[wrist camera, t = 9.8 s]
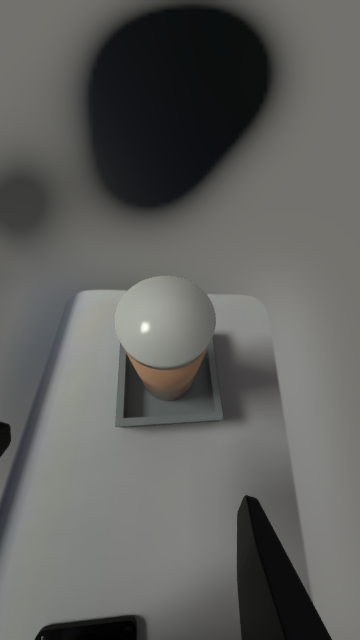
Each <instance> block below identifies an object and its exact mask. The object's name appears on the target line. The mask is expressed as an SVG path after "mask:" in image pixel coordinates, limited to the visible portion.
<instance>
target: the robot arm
mask: <svg viewBox="0 0 360 640" xmlns="http://www.w3.org/2000/svg"><path fill="white" fill-rule="evenodd" d="M10 442H11V429H10V425H9V424H7V423H4V422H0V457H1V456H2V454H3V453H4V452H5V450H6V449H7V448H8V446H9V444H10ZM237 584H238V598H239V611H240V624H241V637H242V640H332V639H331V637H330V635H329V633H328V632H327V629H326V628H325V626H324V624H323V622H322V620H321V618H320V616H319V614H318V612H317V610H316V609H315V607H314V605H313V603H312V601H311V599H310V597H309V595H308V593H307V592H306V590H305V588H304V586H303V584H302V582H301V580H300V578H299V576H298V575H297V573H296V571H295V569H294V567H293V565H292V563H291V561H290V559H289V558H288V556H287V554H286V552H285V550H284V548H283V546H282V544H281V542H280V540H279V539H278V537H277V535H276V533H275V531H274V529H273V527H272V525H271V523H270V522H269V520H268V518H267V516H266V514H265V512H264V510H263V508H262V506H261V505H260V503H259V501H258V500H257V499H256V498H254V497H251V496H248V495H246V496H244V498H243V500H242V503H241V505H240V507H239V510H238V515H237ZM127 626H131V627H132V632H130V633H128V632H127V631H126V627H127ZM42 636H45V637H46V640H137V622H136V620H135V618H134V617H132V616H126V617H118V618H109V619H101V620H92V621H83V622H75V623H66V624H57V625H49V626H45V627H43V628H42V629H41V630H40V632H39V633H38V635H37V636H36V638H35V640H41V637H42Z"/></svg>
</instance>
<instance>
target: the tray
mask: <svg viewBox="0 0 360 640" xmlns="http://www.w3.org/2000/svg"><path fill="white" fill-rule="evenodd" d="M220 420H223V412H222V405H221V398H220V390H219V383H218V375H217V368H216V361H215V353H214V346H213V338H212V339H211V341H210V343H209V346H208V348H207V350H206V353H205V355H204V357H203V360H202V362H201V364H200V367H199V369H198V371H197V374H196V376H195V378H194V381H193V383H192V385H191V387H190V389H189V391H188V392H187V393H186V394H185V395H184V396H182V397H181V398H179V399H177V400H173V401H162V400H159V399H156V398H155V397H153V396H152V395H151V394H150V393H149V392H148V391H147V389H146V388H145V386H144V384H143V382H142V380H141V379H140V377H139V375H138V373H137V371H136V370H135V368H134V366H133V364H132V362H131V361H130V359H129V357H128V355H127V353H126V351H125V350H124V348H123V346H122V344H121V342H120V355H119V372H118V389H117V406H116V422H115V427H135V426H150V425H165V424H180V423H196V422H211V421H220Z"/></svg>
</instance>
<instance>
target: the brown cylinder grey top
mask: <svg viewBox="0 0 360 640" xmlns="http://www.w3.org/2000/svg"><path fill="white" fill-rule="evenodd" d="M215 324H216V317H215V311H214V307H213V305H212V302H211V301H210V299H209V297H208V296H207V295H206V293H205V292H204V291H203V290H202V289H201V288H199V287H198V286H197V285H195V284H194V283H192V282H190V281H188V280H186V279H183V278H179V277H174V276H157V277H152V278H149V279H146V280H143V281H141V282H139V283H137V284H136V285H134V286H133V287H132V288H130V289H129V290H128V291H127V292H126V293H125V295H124V296H123V297H122V299H121V300H120V302H119V304H118V306H117V309H116V313H115V330H116V333H117V336H118V338H119V340H120V342H121V344H122V346H123V348H124V350H125V351H126V353H127V355H128V357H129V359H130V361H131V362H132V364H133V366H134V368H135V370H136V371H137V373H138V375H139V377H140V379H141V380H142V382H143V384H144V386H145V388H146V389H147V391H148V392H149V393H150V394H151V395H152V396H153V397H155V398H156V399H159V400H162V401H173V400H177V399H179V398H181V397H182V396H184V395H185V394H186V393H187V392H188V391H189V389H190V387H191V385H192V383H193V381H194V378H195V376H196V374H197V371H198V369H199V367H200V364H201V362H202V360H203V357H204V355H205V353H206V350H207V348H208V346H209V343H210V341H211V339H212V336H213V333H214V330H215Z"/></svg>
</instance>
